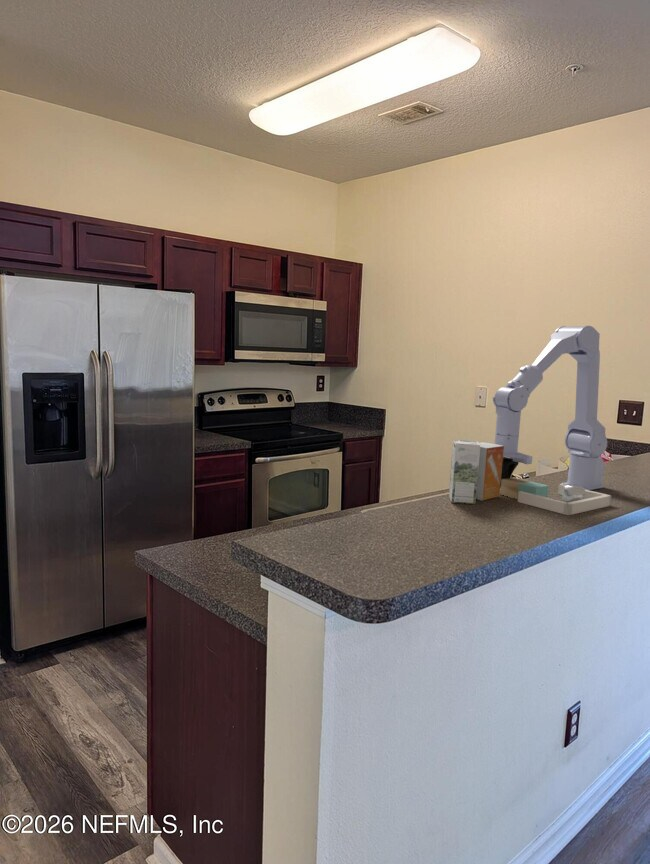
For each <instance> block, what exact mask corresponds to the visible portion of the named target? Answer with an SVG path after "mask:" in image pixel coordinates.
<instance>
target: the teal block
mask: <svg viewBox="0 0 650 864" xmlns="http://www.w3.org/2000/svg"><path fill="white" fill-rule="evenodd" d="M549 487H550V486H549V485H548V484H542V483H539V482H535V481H531V482H525V483H519V484H518V492H520V491H523V492H527V493H531V494H535V495H539V496H543V497H547V498H549V495H548V494H549ZM516 500H518V495H517V499H516Z"/></svg>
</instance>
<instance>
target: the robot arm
mask: <svg viewBox="0 0 650 864" xmlns="http://www.w3.org/2000/svg"><path fill="white" fill-rule="evenodd" d="M600 335H601V333H600V332H598V330H597V329H596V328H595V327H594V326H592V325H583V326H566V325H561V326H559V327H558V328H556V329H555V331H554V332H553V333H552V334H551V335H550V341H549V342H548V343H547V345H546V346H545V348H544V349H542V351H541V352H540V354H539V355H538V356H537V357H536V359H535V360H534V361H533V362H532V364H525V365H523V366H520V368H519V369H518V370H519V372H517V374H516V375H515V376H514V377H513V378H512V379H511V380H509V381H508V382H507V385H506V386H501V387H500V388H498V390H497V391H496V392H495V394H494V396H493V397H492V403H493V404H494V406H495V414H496V421H495V422H496V423H495V424H496V425H495V435H494V444H497V445H503V446H504V451H503V462H502V473H501V479H506V478H512V474H513V472H514V471H515V469H516V468H517V466H518V465H519V463H521V464H524V465H532V463H533V456H532V455H528V454H525V453H522V452H519V451H518V450H519V437H520V426H521V416H522V410H524V408H526V407H527V405H528V401H529V397H530V396H531V394H532V393H533V391H535V389H536V388H537V387H539V385H540V383H542V381H543V379H544V375H543V374H544V372H546V370H548V369H549V368H550V367H551V366H552V365H553V364H554V363H555V362H556V361H557V360H558V359H559V358H560V357H561V356H562V355H565V354H569V355H570V356H571V357H572V358H573V359H574V360H575V361H576V363H577V364H576V387H575V389H576V390H575V391H576V392H575V408H574V409H575V411H574V412H575V413H574V420H573V421H571V422H570V423H568V425H567V432H566V435H565V436H564V437H565V438H564V445H565V447H566V448H567V449H568V451H567V453H569V454H570V455H569V463H568V471H567V472H568V475H567V481H565V482H560V484H577V485H582V486H584V487H585V490H589V491H593V490H598V489H603V488H606V485H604V484H603V480H604V473H605V472H604V470H605V462H604V459H603V457H602V455H603V454H604V453H605V451H607V448H608V439H607V438H608V437H607V436H606V435H607V434H606V427H605V426H604V425H603V424H602V423H601V422H600V421H599V420H598V409H599V408H598V407H599V406H598V404H599V388H600V387H599V385H600V383H599V381H600V364H601V363H600V362H601V361H600V360H601V351H600ZM500 489H501V484H500Z"/></svg>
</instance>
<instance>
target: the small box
mask: <svg viewBox="0 0 650 864" xmlns="http://www.w3.org/2000/svg"><path fill="white" fill-rule="evenodd" d="M478 443H479V444H480V456H479V467H478V479H477V491H476V499H477V500H478V501H486V500H491V499H494V498H499V497H500V496H501V495H500V491H501V488H500V484H501V473H502V462H503V451H504V446H503V445H497V444H495V443H491V442H484V441H482V442H478Z"/></svg>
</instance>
